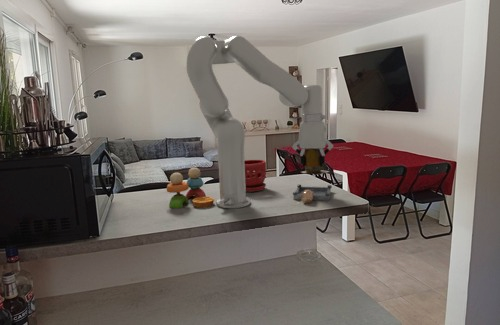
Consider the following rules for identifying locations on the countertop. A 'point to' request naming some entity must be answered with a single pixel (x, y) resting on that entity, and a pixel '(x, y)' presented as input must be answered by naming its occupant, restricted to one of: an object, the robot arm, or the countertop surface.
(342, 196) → the countertop surface
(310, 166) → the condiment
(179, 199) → the wooden stacking toy
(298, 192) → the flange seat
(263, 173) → the plant pot
